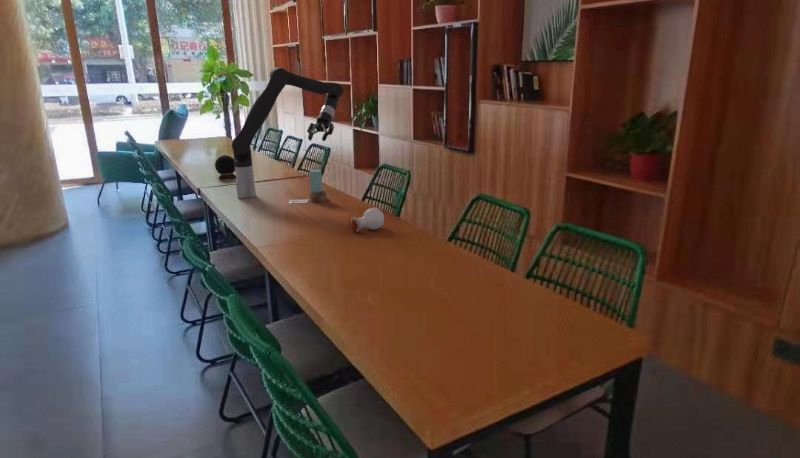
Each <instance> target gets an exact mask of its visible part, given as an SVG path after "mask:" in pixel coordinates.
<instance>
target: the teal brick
mask: <svg viewBox="0 0 800 458" xmlns="http://www.w3.org/2000/svg"><path fill="white" fill-rule="evenodd" d="M308 176H309V184H310V185H309V187H310V188H309V189H310V190H311V192H316V193H320V192H321V191H322V190H323V189H324V188H323V177H322V176H323V174H322V170H321V169H311V170H309V171H308Z"/></svg>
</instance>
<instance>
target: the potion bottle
mask: <svg viewBox="0 0 800 458" xmlns="http://www.w3.org/2000/svg"><path fill="white" fill-rule="evenodd" d="M384 223H385V215H384V214H383V212H382V210H381V209H379V208H377V207H369V208H368V209H366V210H364V212H363V215H362V217H361V216H360V217H358V218H357V217H355V216H352V219H351V218H349V219H348V225H349V226H348V227H349V229H350V230H351V232H352V233H353V234H354V233H355V232H357V233H359V231H361V229H363V228H367V229H369V230H371V231H372V230H373V231H374V230H375V231H376V230H378V229H380V228H382V227H383V224H384Z"/></svg>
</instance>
